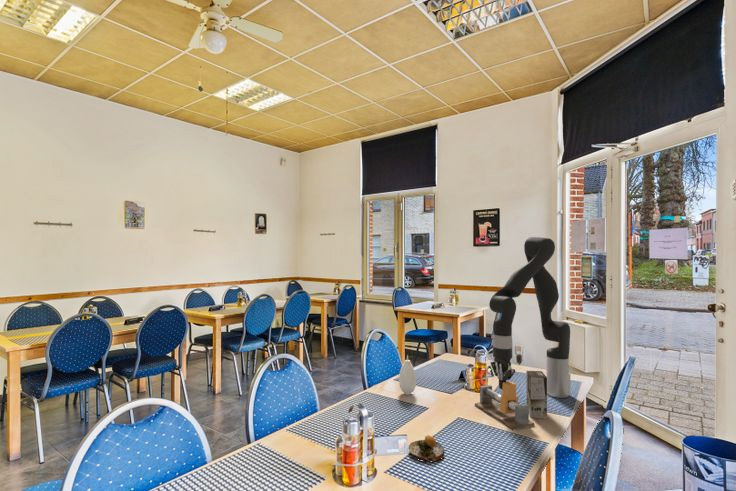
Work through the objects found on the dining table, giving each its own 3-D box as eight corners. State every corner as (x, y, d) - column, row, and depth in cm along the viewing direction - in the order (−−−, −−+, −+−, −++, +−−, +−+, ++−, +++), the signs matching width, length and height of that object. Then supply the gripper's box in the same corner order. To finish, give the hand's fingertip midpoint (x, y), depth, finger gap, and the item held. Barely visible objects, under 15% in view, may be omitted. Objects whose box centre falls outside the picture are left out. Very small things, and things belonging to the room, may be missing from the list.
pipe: (479, 402, 174) (479, 386, 174) (489, 401, 176) (489, 384, 176) (517, 425, 152) (517, 407, 152) (528, 423, 154) (528, 405, 154)
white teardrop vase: (416, 397, 183) (416, 357, 183) (399, 397, 183) (399, 357, 183) (415, 391, 191) (415, 352, 191) (398, 390, 191) (398, 352, 191)
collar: (500, 410, 161) (500, 382, 161) (512, 408, 163) (512, 381, 163) (505, 413, 158) (505, 385, 158) (518, 411, 160) (518, 383, 160)
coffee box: (547, 418, 160) (547, 377, 160) (530, 417, 162) (530, 376, 162) (542, 409, 169) (542, 370, 169) (526, 408, 171) (526, 369, 171)
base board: (474, 405, 174) (474, 403, 174) (494, 402, 177) (494, 400, 177) (512, 429, 151) (512, 426, 151) (534, 425, 154) (534, 422, 154)
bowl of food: (420, 441, 143) (420, 420, 143) (451, 452, 135) (451, 430, 135) (401, 455, 133) (401, 432, 133) (432, 467, 126) (432, 443, 126)
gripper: (521, 348, 159) (521, 393, 159) (499, 341, 172) (499, 382, 172) (505, 350, 157) (505, 395, 157) (484, 342, 169) (484, 384, 169)
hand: (502, 388), depth 164 cm, fingers closed
